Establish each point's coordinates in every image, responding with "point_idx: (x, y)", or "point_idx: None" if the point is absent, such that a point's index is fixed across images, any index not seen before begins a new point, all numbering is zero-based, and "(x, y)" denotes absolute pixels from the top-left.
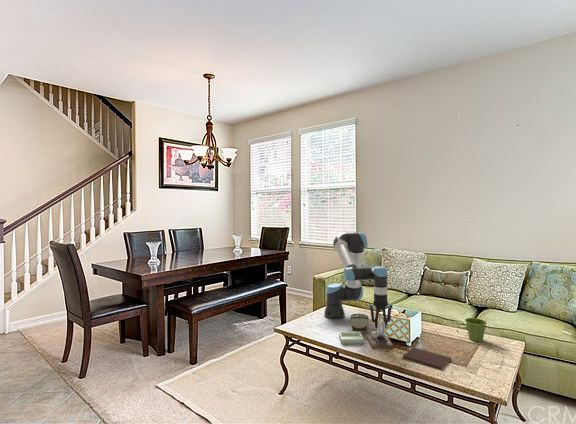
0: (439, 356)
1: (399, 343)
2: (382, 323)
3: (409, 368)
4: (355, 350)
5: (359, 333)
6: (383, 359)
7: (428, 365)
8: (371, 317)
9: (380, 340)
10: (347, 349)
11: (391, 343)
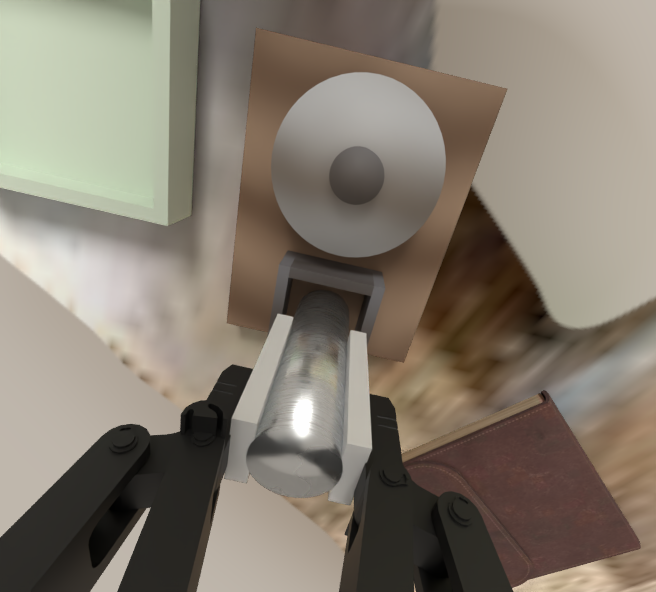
0: (592, 526)
1: (520, 275)
2: (305, 496)
3: (344, 539)
4: (102, 307)
5: (152, 27)
6: None
7: None
8: (51, 503)
9: None
10: (41, 277)
11: (408, 335)
